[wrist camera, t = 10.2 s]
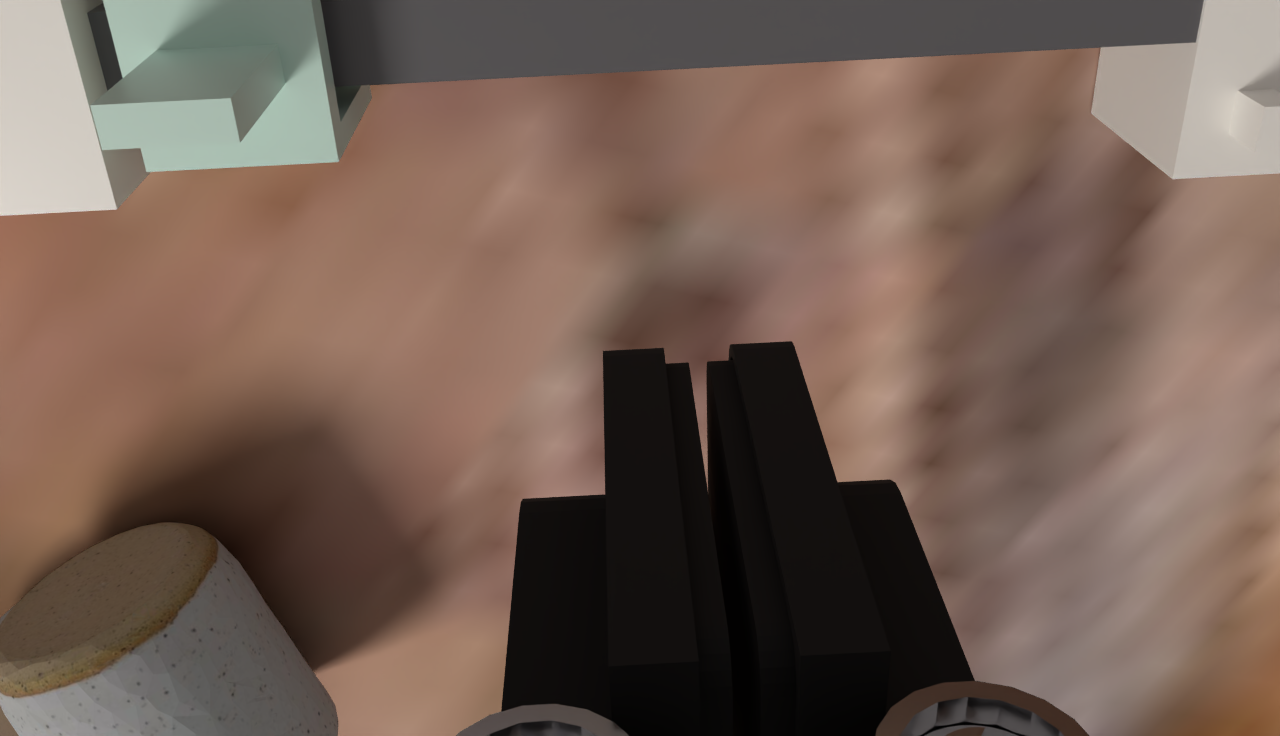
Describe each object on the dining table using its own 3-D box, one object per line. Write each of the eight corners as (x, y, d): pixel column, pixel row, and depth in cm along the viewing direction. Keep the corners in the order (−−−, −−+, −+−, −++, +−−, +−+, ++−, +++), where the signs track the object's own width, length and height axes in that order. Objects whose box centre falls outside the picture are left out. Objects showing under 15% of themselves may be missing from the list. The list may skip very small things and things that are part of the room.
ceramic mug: (236, 473, 36) (153, 650, 30) (362, 661, 40) (314, 855, 33) (-58, 577, 38) (-200, 766, 31) (89, 747, 42) (-8, 949, 35)
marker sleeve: (344, -85, 27) (258, -6, 20) (372, 97, 29) (303, 230, 22) (166, -77, 27) (13, 6, 20) (206, 106, 29) (82, 242, 22)
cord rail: (1268, -227, 28) (1433, -209, 23) (1202, 107, 32) (1329, 191, 26) (-49, -166, 27) (-203, -132, 22) (50, 168, 31) (-61, 265, 26)
